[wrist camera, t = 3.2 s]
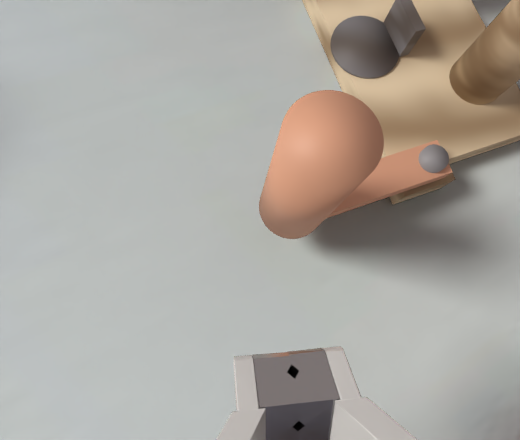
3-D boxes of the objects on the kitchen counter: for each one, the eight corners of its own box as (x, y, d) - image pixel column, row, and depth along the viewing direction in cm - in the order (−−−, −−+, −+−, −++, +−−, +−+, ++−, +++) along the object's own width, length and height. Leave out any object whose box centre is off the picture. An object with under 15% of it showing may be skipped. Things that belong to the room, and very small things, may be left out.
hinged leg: (423, 137, 28) (546, 25, 18) (448, 188, 28) (592, 104, 17) (248, 193, 26) (265, 106, 16) (270, 251, 26) (303, 201, 15)
